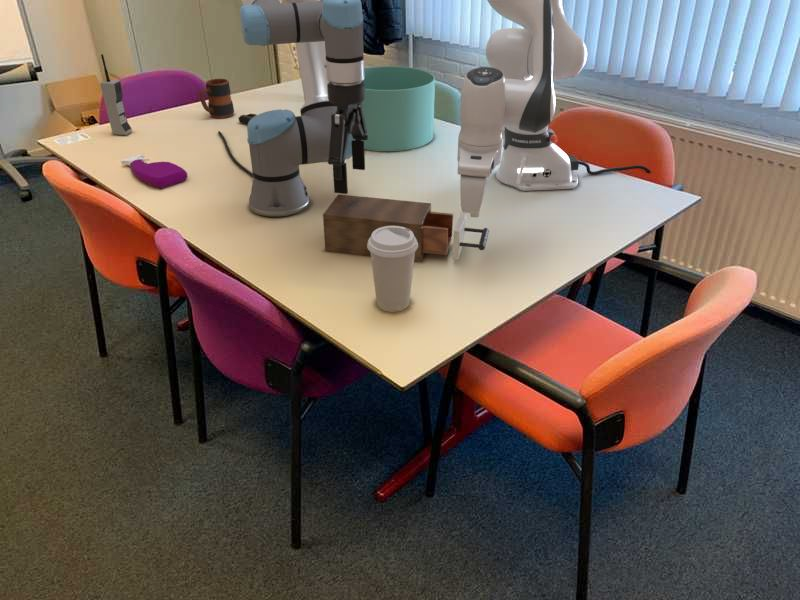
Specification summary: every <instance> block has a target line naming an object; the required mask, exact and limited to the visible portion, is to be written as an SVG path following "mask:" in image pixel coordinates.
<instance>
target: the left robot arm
mask: <svg viewBox="0 0 800 600" xmlns="http://www.w3.org/2000/svg"><path fill="white" fill-rule="evenodd" d="M241 3H242V5H241V7H240V8H239V19H240V20H239V21H240V28H241V34H242V38H243V39H242V40H243V42H244V43H245V44H246V45H248V46H260V47H265V46H273V45H286V44H287V45H288V44H295V50H296V57H297V61H298V68H299V74H300V80H301V87H302V91H303V99H304V104H302V106H301V108H300V110H299V111H300V115H299V116H298V115H297V116H296V114H295V113H294V112H293V111H292V110H291V109H282V108H281V109H273V110H268V111H263V112H261V113H259V114H256V116H255V117H253V118H252V119H251V120H250V121H249V122H248V124H246V125H247V126H246V134H247V139H246V141H247V144H248V145H249V146H248V147H249V154H250V163H251V171H250V170H249V169H247V168H246V167H245V166H243V165H242V164H241V163H240V162H239V161H238V160H237V159H236V158H235V156H234V155H233V154H232V152H231V150H230V147H229V145H228V142H227V140H226V138H225V136H224V135H223V134H222V132H221V131H220V130H218V131H217V133H218V135H219V137H220V138H221V140H222V141H223V143H224V146H225V149H226V151H227V153H228V156H229V157H230V158H231V160H232V161H233V162H234V164H236V165H237V166H238V167H239V168H240V169H241V170H243V171H244V172H246V173H247V175H249V176H250V177H252V183H251V189H250V195H249V197H248V205H249V209H250V211H252V213H254V214H256V215H258V216H263V217H268V218H283V217H289V216H293V215H296V214H299V213H301V212H303V211H305V210H306V209H307V208H308V207H309V206H310V196H309V193H308V188H307V187H306V185H305V183H304V181H303V179H302V177H301V173H300V166H301V165H310V164H319V163H327V164H328V165H329V166H332V176H333V177H332V178H333V191H334V194H341V195H348V193H349V190H348V189H349V188H348V171H347V169H348V168H347V167H348V166H347V162H346V160H349V159H351V158H352V159H351V161H352V163H351V164H352V170H358V171H359V170H360V171H365V170H366V159H365V158H366V157H365V155H366V154H365V153H366V152H365V149H364V141H363V140H368V135H366V134H367V129H366V124H365V119H364V114H363V109H362V102H363V101H364V100H365V84H364V82H363V81H362V80H364V78H365V76H364V68H365V58H364V24H363V23H364V14H363V7H362V1H361V0H281V1H280V0H241Z"/></svg>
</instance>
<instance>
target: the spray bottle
mask: <svg viewBox="0 0 800 600" xmlns="http://www.w3.org/2000/svg"><path fill="white" fill-rule="evenodd" d="M145 161H149V163H147V162H145ZM120 163H121V166H129V167H130V169H131V172H132V173H133V175H134V176H135V177H136V178H137V179H139V180H141V181H142V182H143V183H145V184H148V185H150V186H153V187H156V188H160V189H163V188H166V187H169V186H173V185H176V184H178V183H182V182H184V181H186V180H187V178H188V172H187V171H186V170H185V169H184V168H183V167H181V166H180V165H177V164H175V163H174V162H170V161H154V162H150V158H146V157H145V154H144V153H142V154H136V155H133V156H129V157H127V158H124V159H121V160H120Z"/></svg>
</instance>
